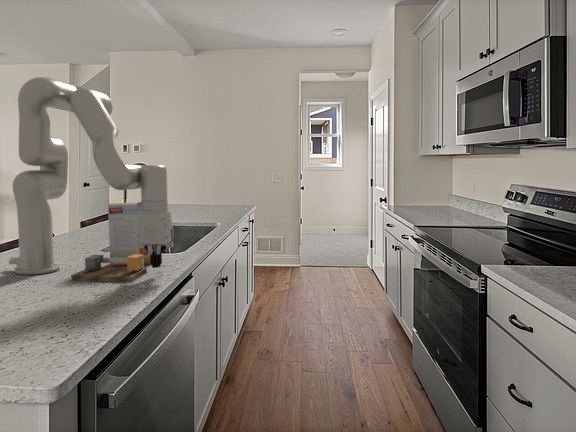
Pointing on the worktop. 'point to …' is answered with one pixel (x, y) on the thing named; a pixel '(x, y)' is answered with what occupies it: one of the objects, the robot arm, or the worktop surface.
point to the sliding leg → (134, 262)
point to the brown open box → (109, 275)
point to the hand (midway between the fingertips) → (156, 266)
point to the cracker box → (124, 232)
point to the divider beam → (95, 262)
